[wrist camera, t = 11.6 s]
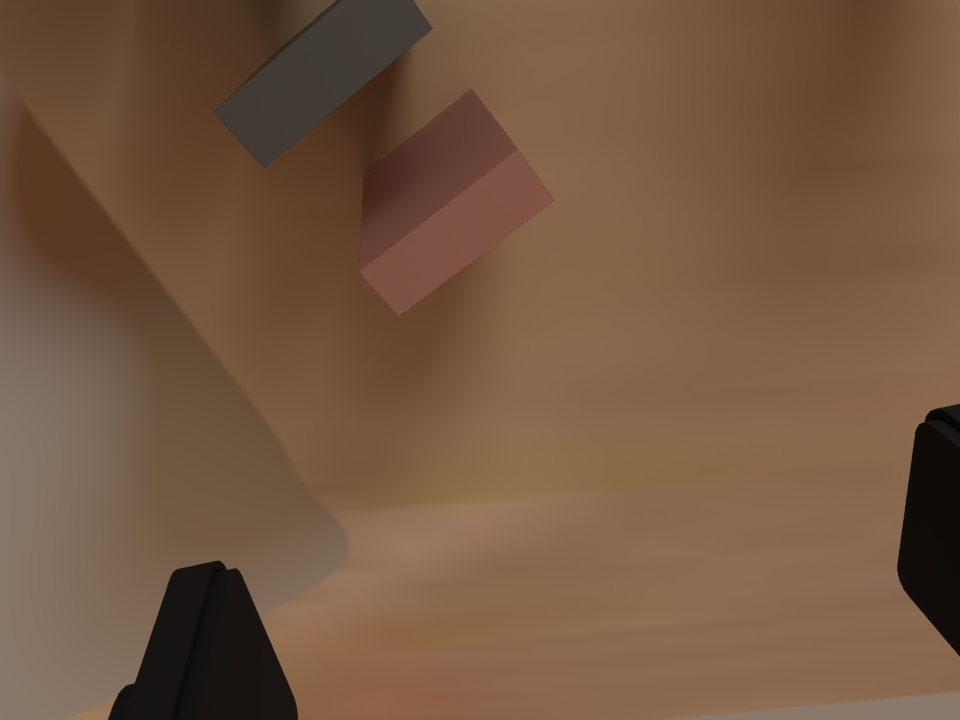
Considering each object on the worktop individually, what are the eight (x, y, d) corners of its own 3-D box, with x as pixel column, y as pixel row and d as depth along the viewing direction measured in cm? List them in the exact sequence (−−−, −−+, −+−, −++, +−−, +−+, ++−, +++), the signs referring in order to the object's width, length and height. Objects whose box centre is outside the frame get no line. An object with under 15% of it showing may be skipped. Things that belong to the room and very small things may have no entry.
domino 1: (267, 59, 26) (213, 111, 17) (381, -39, 25) (386, -38, 16) (300, 98, 26) (264, 168, 18) (412, 4, 25) (432, 28, 17)
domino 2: (363, 174, 28) (358, 272, 19) (471, 88, 27) (518, 149, 18) (391, 208, 29) (398, 317, 20) (497, 125, 28) (554, 200, 19)
